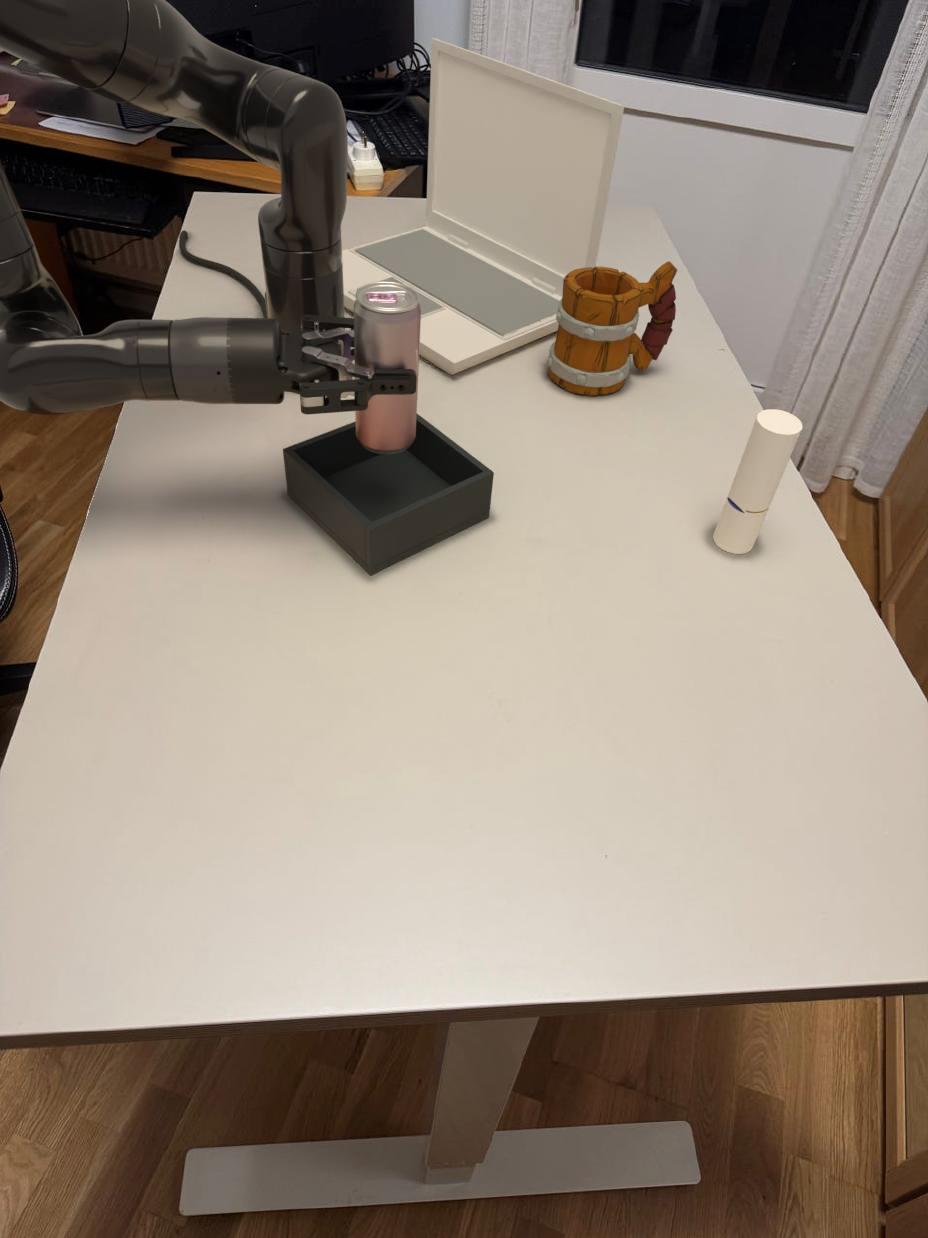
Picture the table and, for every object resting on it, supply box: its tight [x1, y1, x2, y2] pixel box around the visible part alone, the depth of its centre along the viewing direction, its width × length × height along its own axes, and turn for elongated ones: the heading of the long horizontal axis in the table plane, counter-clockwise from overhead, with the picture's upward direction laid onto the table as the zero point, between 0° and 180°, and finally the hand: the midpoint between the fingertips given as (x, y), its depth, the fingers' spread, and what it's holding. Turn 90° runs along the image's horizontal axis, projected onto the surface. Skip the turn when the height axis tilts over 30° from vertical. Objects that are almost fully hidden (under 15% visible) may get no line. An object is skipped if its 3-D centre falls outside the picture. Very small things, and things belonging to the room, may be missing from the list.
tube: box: [712, 408, 803, 555], centre depth 85 cm, size 4×4×15 cm
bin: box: [282, 413, 495, 576], centre depth 89 cm, size 16×16×6 cm
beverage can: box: [353, 282, 421, 455], centre depth 79 cm, size 6×6×15 cm
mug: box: [546, 261, 678, 397], centre depth 108 cm, size 11×16×15 cm, turn 102°
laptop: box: [342, 37, 625, 376], centre depth 114 cm, size 35×26×28 cm
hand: (412, 362), depth 79 cm, fingers closed on beverage can, 6 cm apart
